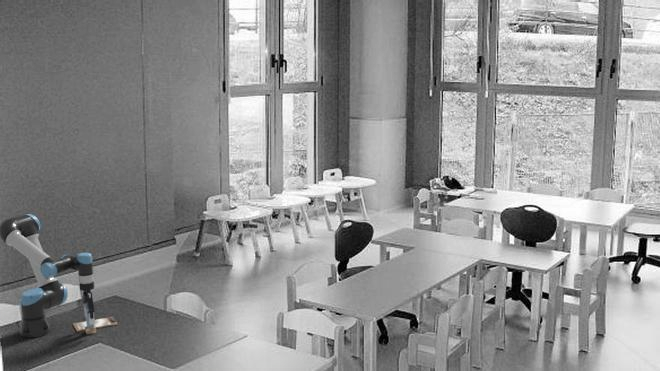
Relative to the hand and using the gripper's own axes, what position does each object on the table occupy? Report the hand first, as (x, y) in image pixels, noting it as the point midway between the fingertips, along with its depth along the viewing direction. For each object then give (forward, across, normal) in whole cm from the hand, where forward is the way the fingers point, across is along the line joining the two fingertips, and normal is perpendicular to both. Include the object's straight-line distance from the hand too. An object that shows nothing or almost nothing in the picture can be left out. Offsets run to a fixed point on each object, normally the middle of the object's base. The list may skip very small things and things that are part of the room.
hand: (89, 320), depth 433 cm
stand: (+7, 0, 0) cm, 7 cm away
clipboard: (+7, +11, -4) cm, 14 cm away
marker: (+5, 0, 0) cm, 5 cm away
